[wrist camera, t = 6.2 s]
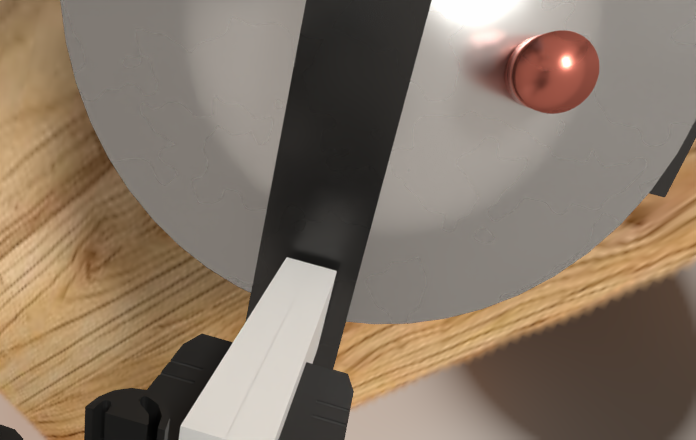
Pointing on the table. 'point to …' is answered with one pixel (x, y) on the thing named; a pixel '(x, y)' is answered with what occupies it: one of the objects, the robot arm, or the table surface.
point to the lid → (388, 136)
